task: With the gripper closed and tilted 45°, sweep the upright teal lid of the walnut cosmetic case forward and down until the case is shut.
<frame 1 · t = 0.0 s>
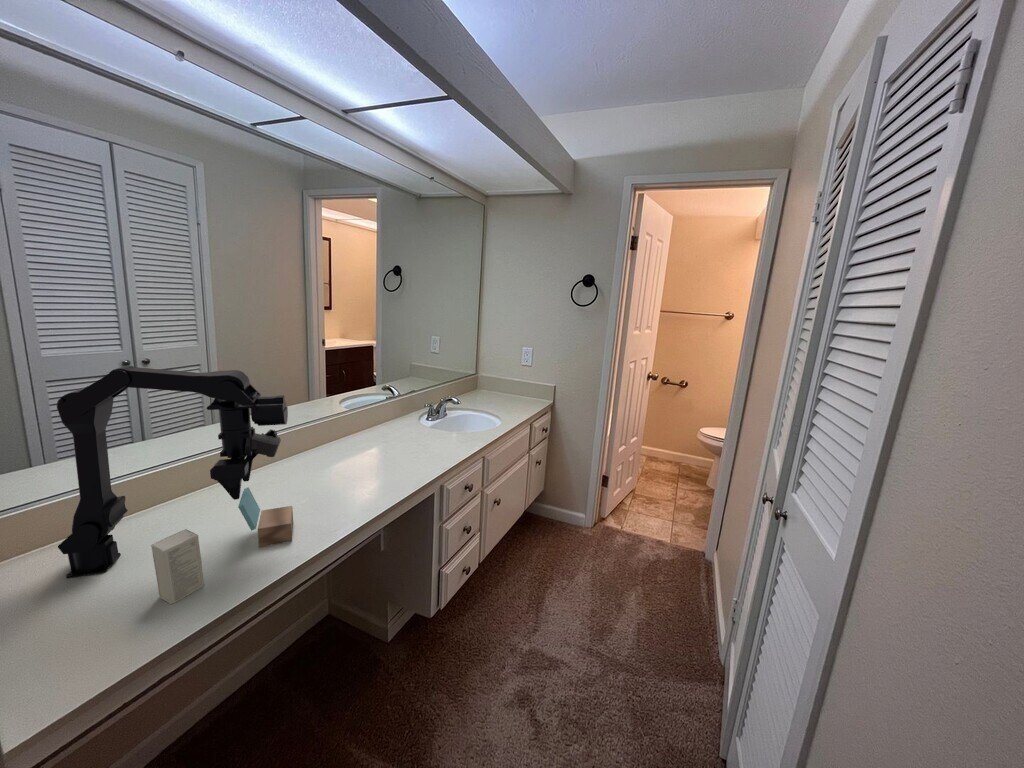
hand: (241, 489, 95), 15 cm above the counter, tool pointing down, fingers open, 9 cm apart
skincare box: (182, 592, 83), on the counter
case: (277, 534, 103), on the counter
lid: (249, 508, 99), point 8 cm above the counter, hinge at 108.0°
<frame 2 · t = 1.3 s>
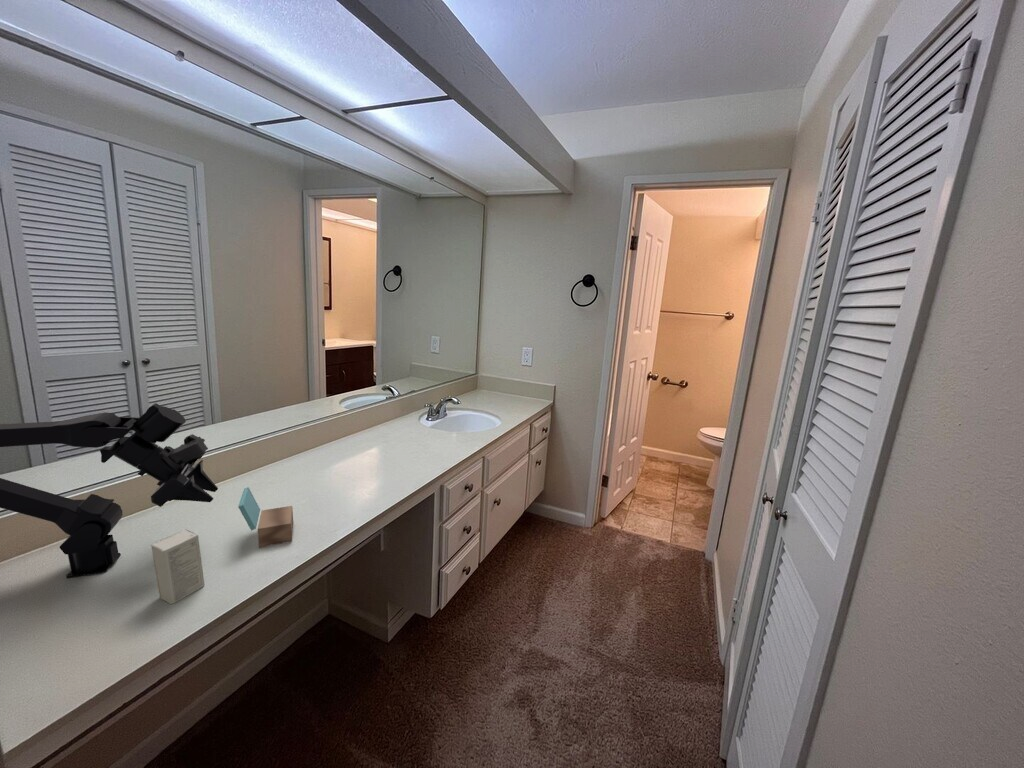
hand: (214, 495, 95), 13 cm above the counter, tool tilted 45°, fingers open, 5 cm apart
nothing on the counter moved.
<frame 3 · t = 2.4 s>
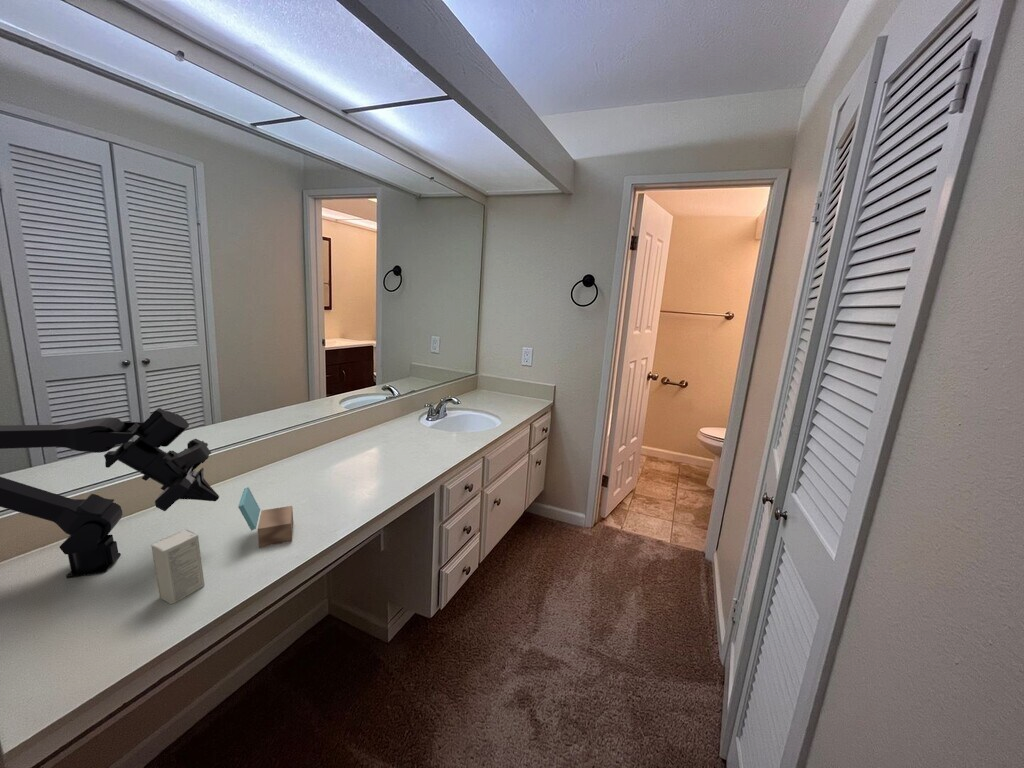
hand: (217, 499, 96), 12 cm above the counter, tool tilted 45°, fingers closed
nothing on the counter moved.
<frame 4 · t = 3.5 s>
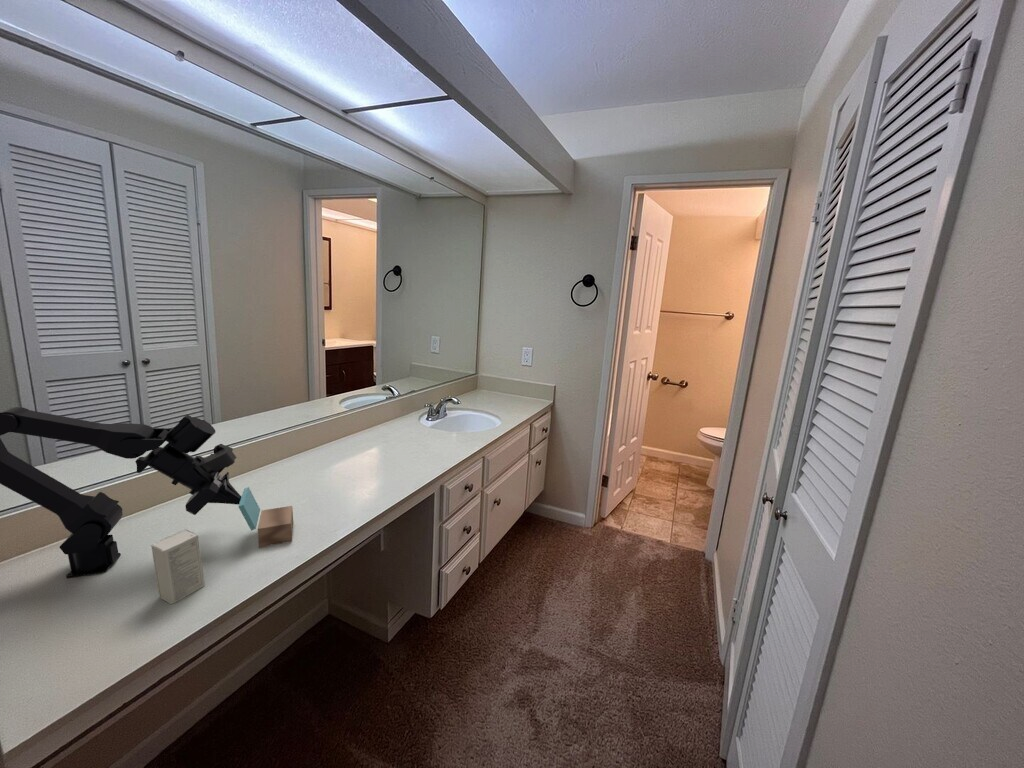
hand: (242, 502, 98), 10 cm above the counter, tool tilted 45°, fingers closed, pressing on lid
lid: (249, 508, 99), point 8 cm above the counter, hinge at 107.6°, touching gripper
everything else where it was.
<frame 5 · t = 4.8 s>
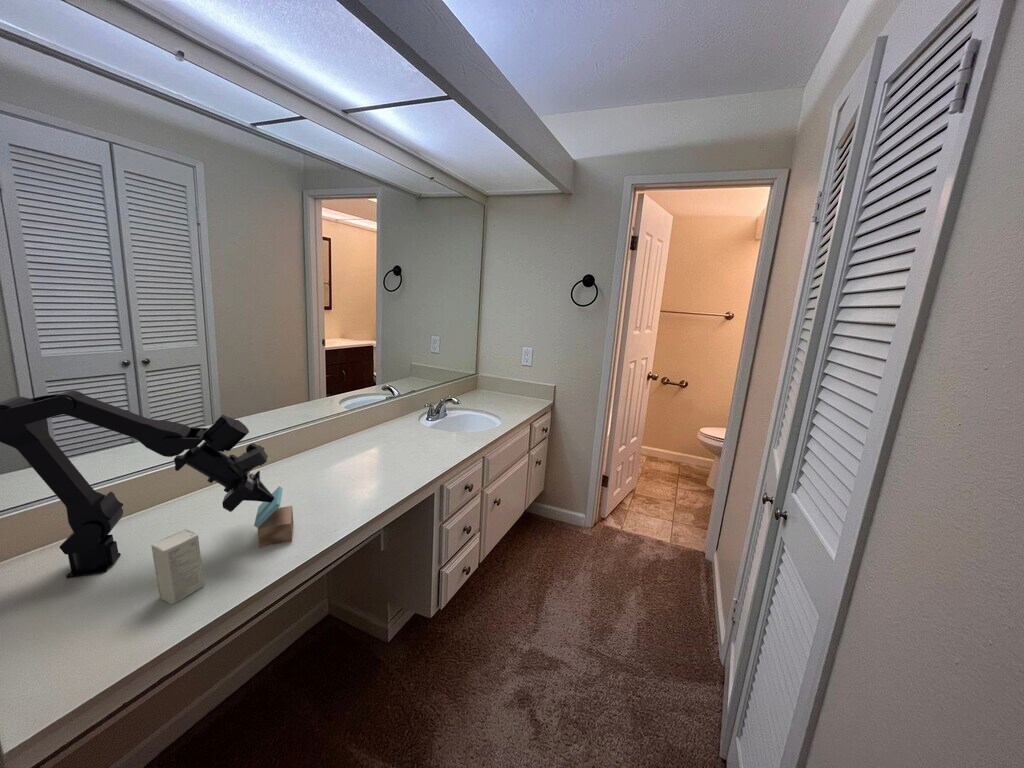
hand: (273, 500, 101), 10 cm above the counter, tool tilted 45°, fingers closed, pressing on lid
lid: (269, 506, 101), point 8 cm above the counter, hinge at 44.9°, touching gripper
everything else where it was.
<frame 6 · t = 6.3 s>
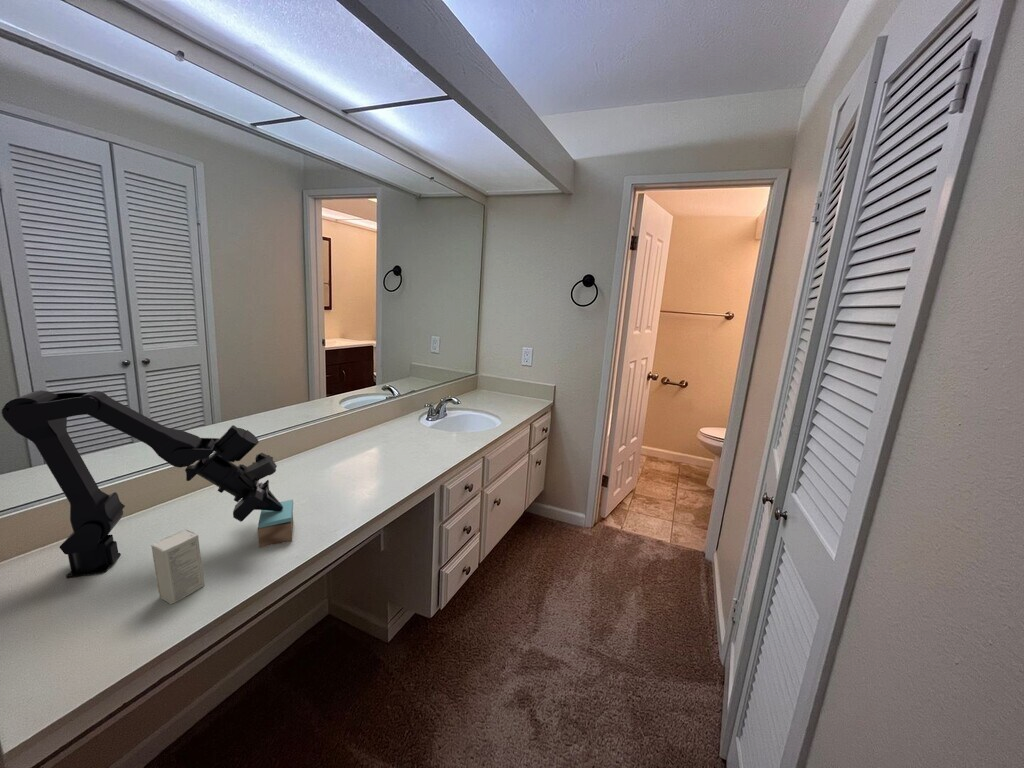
hand: (281, 509, 102), 7 cm above the counter, tool tilted 45°, fingers closed
lid: (276, 513, 102), point 6 cm above the counter, hinge at 3.8°
everything else where it was.
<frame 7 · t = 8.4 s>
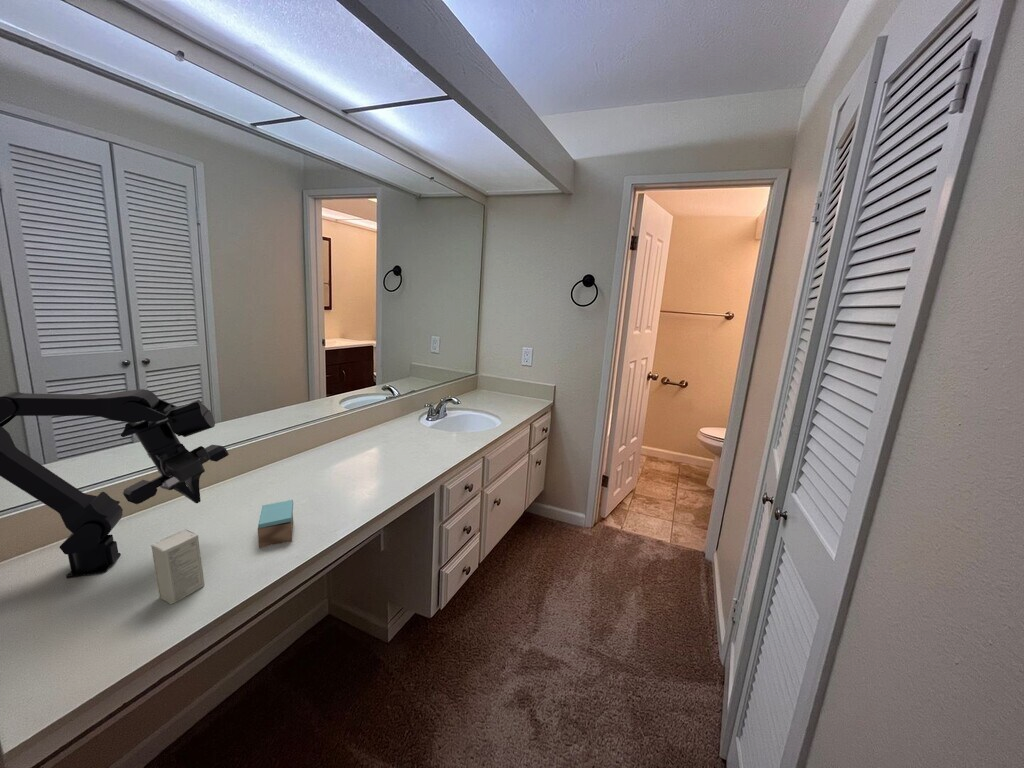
hand: (198, 502, 94), 12 cm above the counter, tool tilted 20°, fingers closed
nothing on the counter moved.
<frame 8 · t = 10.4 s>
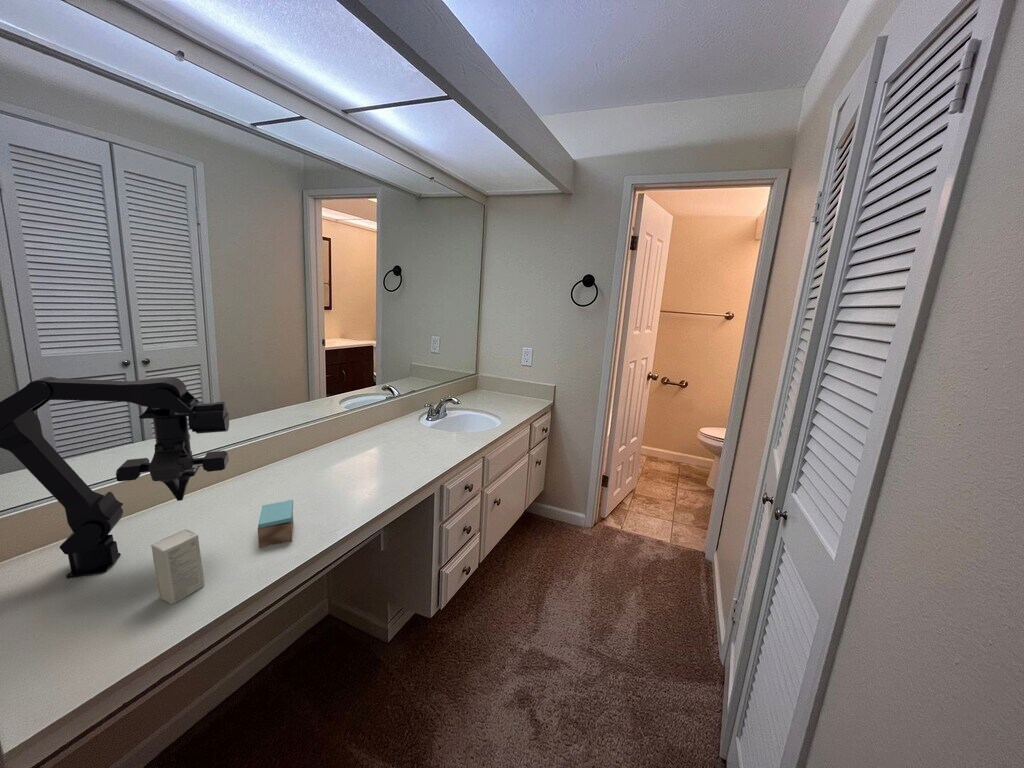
hand: (180, 499, 92), 13 cm above the counter, tool pointing down, fingers closed
nothing on the counter moved.
at the end: lid at +4° (first picture: +108°); skincare box moved 0.2 cm from its start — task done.
